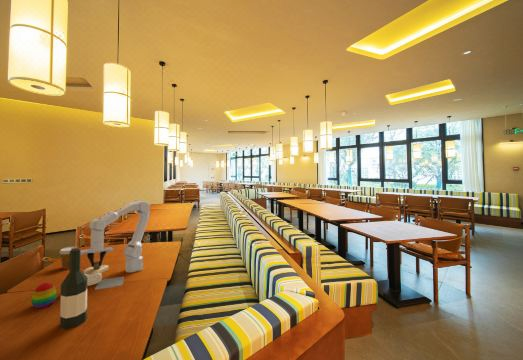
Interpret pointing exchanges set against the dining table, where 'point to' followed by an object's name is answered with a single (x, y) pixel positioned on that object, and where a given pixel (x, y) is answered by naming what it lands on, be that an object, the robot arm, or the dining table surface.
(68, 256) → the disposable coffee cup
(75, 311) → the wine bottle
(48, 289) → the decorative egg
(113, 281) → the mat
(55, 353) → the dining table surface
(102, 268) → the lid
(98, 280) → the bowl
